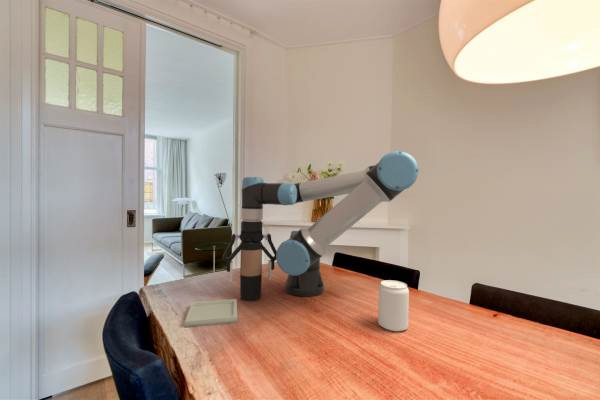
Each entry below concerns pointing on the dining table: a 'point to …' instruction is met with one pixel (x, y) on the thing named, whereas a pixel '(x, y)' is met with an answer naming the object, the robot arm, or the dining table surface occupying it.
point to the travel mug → (251, 271)
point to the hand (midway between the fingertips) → (250, 279)
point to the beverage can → (393, 305)
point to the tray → (212, 313)
